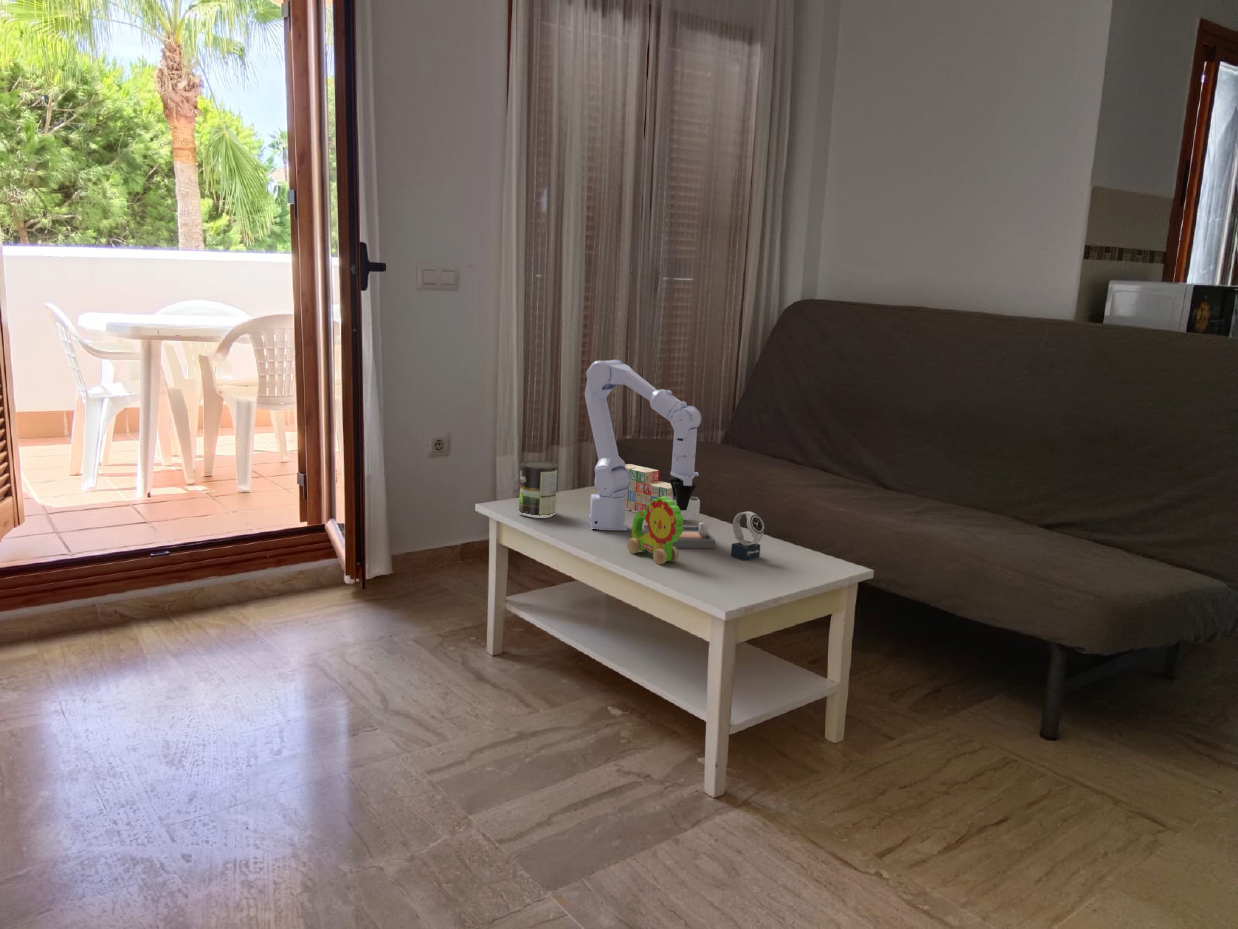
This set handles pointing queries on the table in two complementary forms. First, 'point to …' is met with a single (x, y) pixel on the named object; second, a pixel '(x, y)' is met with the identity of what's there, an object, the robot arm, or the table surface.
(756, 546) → the watch
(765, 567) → the table surface
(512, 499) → the table surface
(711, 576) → the table surface
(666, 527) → the toy lion
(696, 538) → the tray
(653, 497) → the stack of blocks
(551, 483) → the coffee can
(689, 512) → the drive
